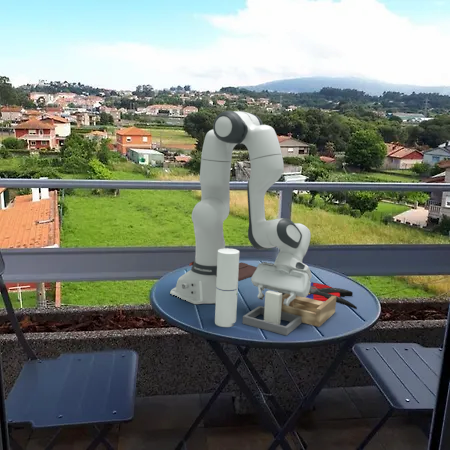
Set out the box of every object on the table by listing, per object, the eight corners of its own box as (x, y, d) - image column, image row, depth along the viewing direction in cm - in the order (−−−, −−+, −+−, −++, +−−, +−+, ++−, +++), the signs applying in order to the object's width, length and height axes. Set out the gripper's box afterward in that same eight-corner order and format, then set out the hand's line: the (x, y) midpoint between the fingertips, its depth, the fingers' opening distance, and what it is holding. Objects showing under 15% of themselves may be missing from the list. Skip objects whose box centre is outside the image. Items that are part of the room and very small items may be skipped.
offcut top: (293, 302, 173) (293, 298, 173) (298, 299, 177) (298, 295, 176) (319, 309, 168) (319, 305, 168) (323, 306, 171) (324, 302, 171)
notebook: (266, 273, 223) (266, 268, 222) (239, 282, 208) (239, 277, 207) (240, 265, 232) (241, 261, 232) (213, 274, 217) (213, 269, 217)
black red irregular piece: (274, 305, 183) (355, 315, 178) (275, 295, 182) (357, 305, 177) (278, 283, 208) (350, 292, 203) (279, 275, 207) (351, 283, 202)
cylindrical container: (210, 322, 163) (213, 250, 158) (224, 316, 168) (227, 247, 163) (226, 329, 158) (229, 255, 153) (240, 323, 163) (243, 251, 158)
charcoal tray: (242, 326, 161) (242, 316, 160) (258, 315, 171) (259, 305, 170) (286, 338, 153) (287, 328, 152) (301, 326, 163) (301, 316, 162)
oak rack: (275, 318, 169) (276, 299, 167) (293, 304, 182) (295, 287, 181) (319, 329, 161) (320, 309, 159) (334, 314, 174) (336, 296, 173)
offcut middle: (293, 306, 173) (293, 303, 173) (297, 303, 177) (297, 299, 176) (320, 312, 169) (320, 308, 168) (323, 309, 172) (323, 305, 172)
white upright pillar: (263, 323, 162) (265, 292, 160) (266, 321, 164) (268, 290, 162) (277, 326, 159) (279, 295, 157) (280, 324, 161) (282, 293, 159)
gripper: (257, 256, 169) (242, 290, 162) (312, 267, 158) (298, 303, 152) (262, 265, 173) (247, 299, 167) (316, 276, 163) (303, 313, 157)
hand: (272, 301), depth 159 cm, fingers open, 8 cm apart
